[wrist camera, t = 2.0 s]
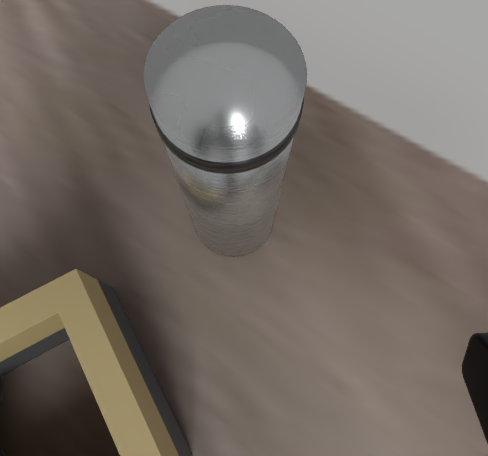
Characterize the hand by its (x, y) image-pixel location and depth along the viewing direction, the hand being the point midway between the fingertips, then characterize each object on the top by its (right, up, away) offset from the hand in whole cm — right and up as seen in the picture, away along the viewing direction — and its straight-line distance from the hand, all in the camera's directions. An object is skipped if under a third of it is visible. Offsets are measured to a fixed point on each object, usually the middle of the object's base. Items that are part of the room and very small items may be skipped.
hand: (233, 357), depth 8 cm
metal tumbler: (0, +3, +14) cm, 14 cm away
